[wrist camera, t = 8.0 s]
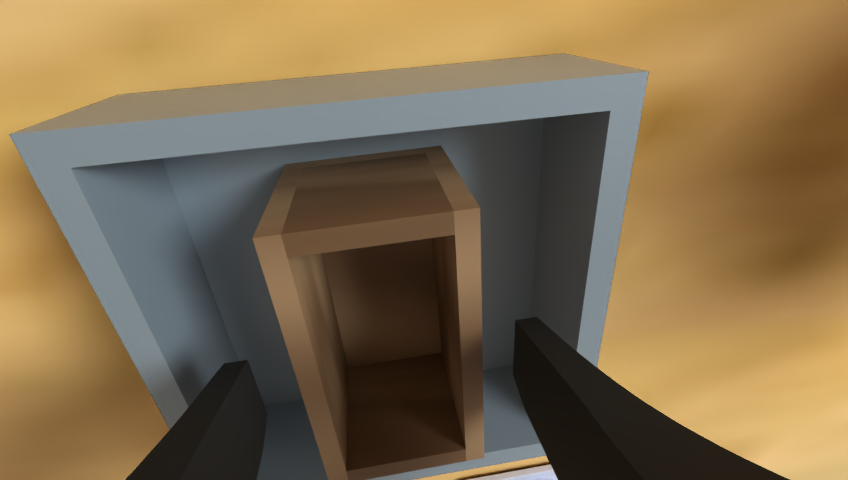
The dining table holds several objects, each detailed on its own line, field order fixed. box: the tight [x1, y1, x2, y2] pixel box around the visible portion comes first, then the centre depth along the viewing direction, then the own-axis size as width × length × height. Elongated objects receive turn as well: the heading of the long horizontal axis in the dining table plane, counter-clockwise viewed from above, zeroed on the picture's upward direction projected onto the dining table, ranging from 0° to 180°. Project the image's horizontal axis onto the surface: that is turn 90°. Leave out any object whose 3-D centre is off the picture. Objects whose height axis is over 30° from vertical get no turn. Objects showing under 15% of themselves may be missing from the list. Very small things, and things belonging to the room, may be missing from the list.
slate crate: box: [9, 53, 649, 480], centre depth 14 cm, size 14×14×4 cm
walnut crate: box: [252, 145, 484, 480], centre depth 14 cm, size 9×5×5 cm, turn 5°
